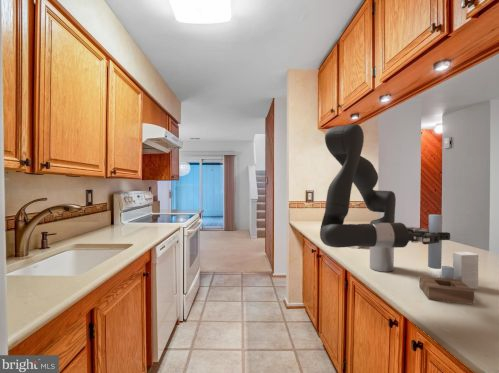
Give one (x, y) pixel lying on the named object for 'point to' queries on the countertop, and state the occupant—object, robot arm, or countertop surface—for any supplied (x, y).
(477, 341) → the countertop surface
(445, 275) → the short pin
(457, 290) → the socket block
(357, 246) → the jar
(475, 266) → the skincare box
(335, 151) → the robot arm
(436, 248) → the long pin
